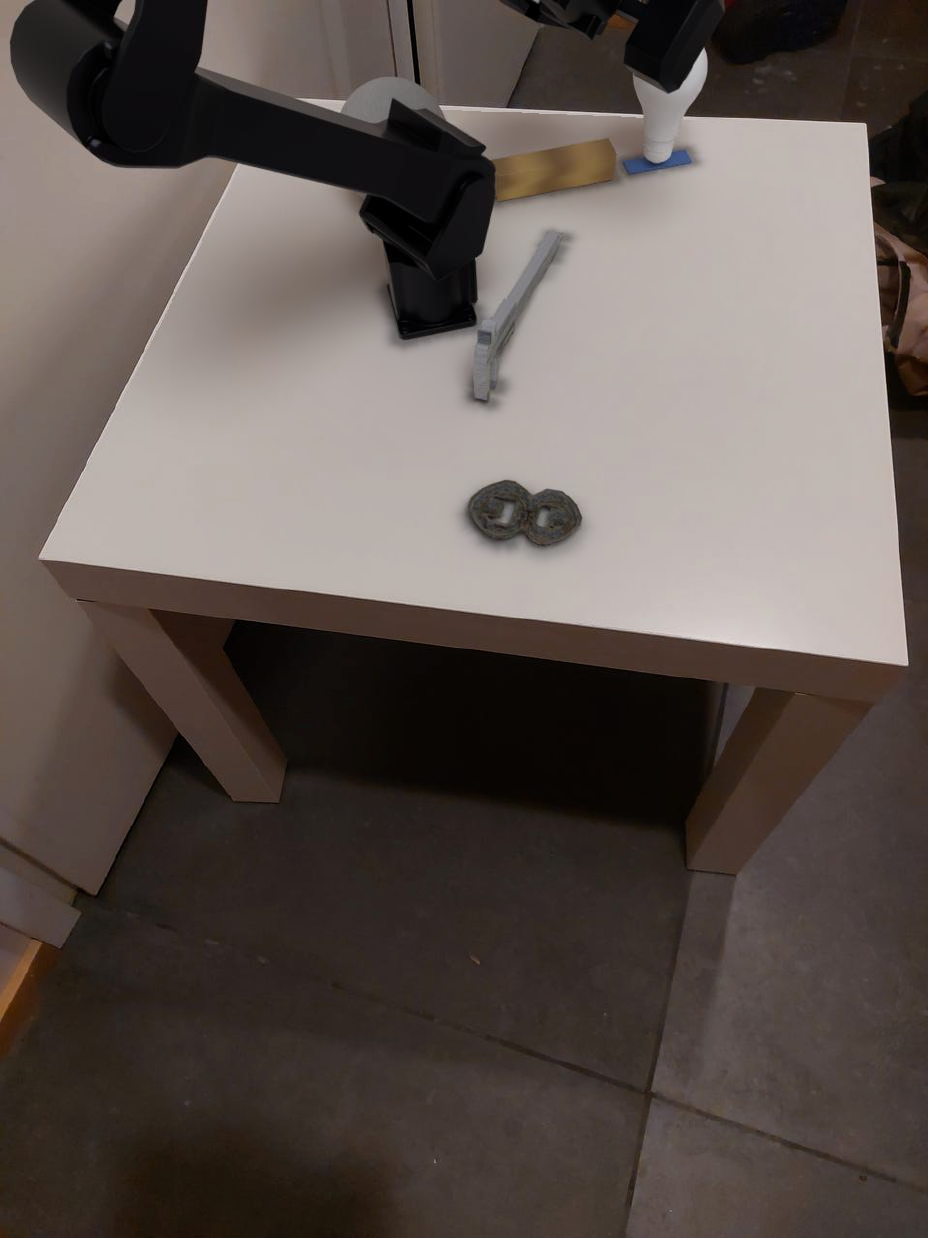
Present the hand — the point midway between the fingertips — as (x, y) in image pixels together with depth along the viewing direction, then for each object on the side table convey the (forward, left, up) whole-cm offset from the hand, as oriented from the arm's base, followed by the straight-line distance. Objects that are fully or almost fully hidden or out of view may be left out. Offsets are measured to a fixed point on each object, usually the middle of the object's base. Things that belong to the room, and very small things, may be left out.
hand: (644, 49), depth 67 cm
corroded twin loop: (-19, -34, -11) cm, 41 cm away
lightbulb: (+3, +2, -11) cm, 12 cm away
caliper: (-14, -14, -11) cm, 23 cm away
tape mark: (+3, +2, -11) cm, 12 cm away
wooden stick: (-7, +2, -11) cm, 13 cm away
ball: (-21, +4, -11) cm, 24 cm away
